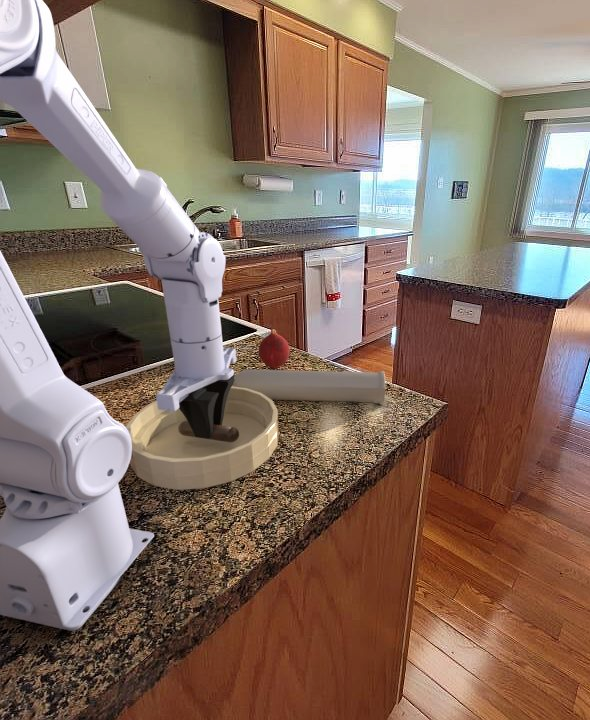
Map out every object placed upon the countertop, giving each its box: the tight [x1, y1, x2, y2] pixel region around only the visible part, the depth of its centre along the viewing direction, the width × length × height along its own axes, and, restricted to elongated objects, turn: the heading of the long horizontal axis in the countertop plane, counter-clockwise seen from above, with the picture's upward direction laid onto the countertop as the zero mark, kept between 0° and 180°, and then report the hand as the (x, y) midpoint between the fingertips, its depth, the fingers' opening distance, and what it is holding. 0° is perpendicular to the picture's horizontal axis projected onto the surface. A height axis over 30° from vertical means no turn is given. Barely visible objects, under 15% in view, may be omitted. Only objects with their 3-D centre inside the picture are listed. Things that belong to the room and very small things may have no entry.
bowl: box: [125, 385, 280, 491], centre depth 52 cm, size 18×18×4 cm
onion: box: [258, 328, 291, 370], centre depth 76 cm, size 6×6×8 cm
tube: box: [232, 368, 386, 406], centre depth 66 cm, size 5×5×25 cm
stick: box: [178, 421, 239, 442], centre depth 53 cm, size 8×2×2 cm, turn 81°
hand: (208, 431), depth 53 cm, fingers closed on stick, 2 cm apart
